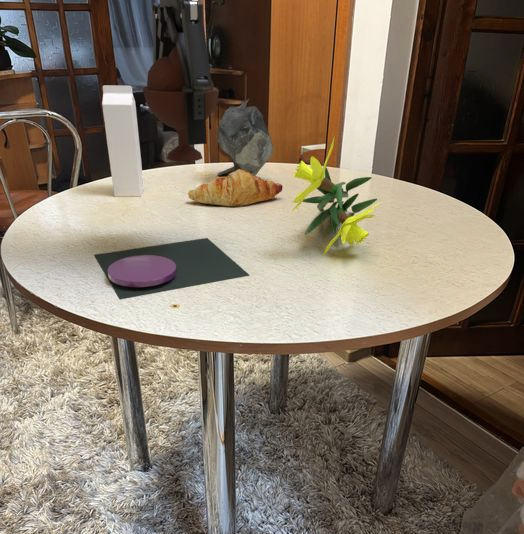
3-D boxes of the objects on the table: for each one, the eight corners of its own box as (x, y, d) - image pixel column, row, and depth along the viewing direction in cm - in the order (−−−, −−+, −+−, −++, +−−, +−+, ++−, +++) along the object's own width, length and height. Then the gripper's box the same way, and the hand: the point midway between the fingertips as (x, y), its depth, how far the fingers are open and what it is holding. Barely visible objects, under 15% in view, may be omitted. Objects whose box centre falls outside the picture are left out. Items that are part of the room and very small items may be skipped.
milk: (141, 197, 115) (130, 87, 103) (113, 196, 114) (99, 86, 102) (144, 189, 120) (133, 84, 108) (117, 189, 119) (104, 83, 108)
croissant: (192, 223, 110) (192, 194, 104) (183, 190, 115) (183, 161, 108) (285, 214, 115) (291, 187, 109) (273, 183, 120) (278, 155, 113)
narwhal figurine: (213, 188, 122) (210, 105, 112) (217, 173, 135) (215, 97, 125) (273, 189, 122) (275, 107, 112) (271, 174, 135) (273, 98, 125)
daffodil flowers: (391, 220, 107) (401, 228, 74) (327, 252, 111) (310, 273, 78) (356, 145, 104) (351, 118, 71) (293, 180, 108) (260, 171, 75)
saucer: (102, 270, 79) (101, 260, 78) (165, 260, 83) (164, 251, 82) (117, 296, 71) (116, 286, 70) (186, 284, 75) (185, 274, 74)
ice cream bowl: (215, 149, 84) (212, 43, 76) (223, 165, 75) (220, 45, 67) (150, 150, 82) (139, 42, 74) (149, 166, 73) (137, 44, 65)
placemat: (94, 257, 84) (93, 254, 84) (207, 240, 92) (207, 237, 92) (120, 303, 71) (119, 299, 70) (250, 278, 78) (250, 275, 78)
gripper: (236, -56, 58) (238, 149, 69) (172, -38, 75) (181, 124, 87) (173, -62, 55) (185, 153, 67) (121, -42, 72) (138, 126, 84)
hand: (183, 137), depth 77 cm, fingers closed on ice cream bowl, 11 cm apart
